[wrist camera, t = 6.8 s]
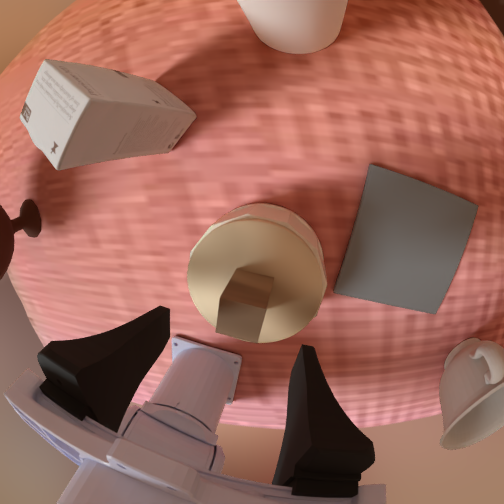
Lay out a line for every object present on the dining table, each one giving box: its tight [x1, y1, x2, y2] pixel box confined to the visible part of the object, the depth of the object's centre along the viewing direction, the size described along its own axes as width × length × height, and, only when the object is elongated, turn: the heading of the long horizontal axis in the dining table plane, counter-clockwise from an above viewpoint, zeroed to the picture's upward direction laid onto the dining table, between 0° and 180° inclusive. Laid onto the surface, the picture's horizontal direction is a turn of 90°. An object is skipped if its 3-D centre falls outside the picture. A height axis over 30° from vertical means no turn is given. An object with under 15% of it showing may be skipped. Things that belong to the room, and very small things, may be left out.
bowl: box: [190, 203, 327, 318], centre depth 21 cm, size 10×10×4 cm
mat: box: [333, 164, 478, 314], centre depth 20 cm, size 11×11×1 cm
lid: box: [187, 218, 323, 343], centre depth 17 cm, size 10×10×5 cm
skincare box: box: [20, 59, 196, 170], centre depth 14 cm, size 6×4×12 cm
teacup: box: [439, 338, 504, 450], centre depth 18 cm, size 12×15×10 cm
